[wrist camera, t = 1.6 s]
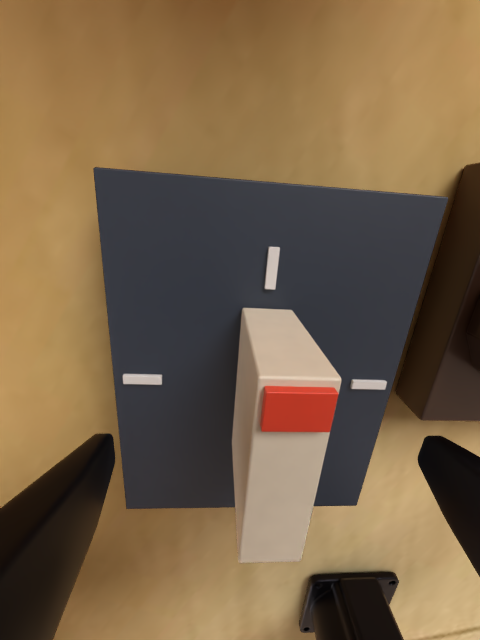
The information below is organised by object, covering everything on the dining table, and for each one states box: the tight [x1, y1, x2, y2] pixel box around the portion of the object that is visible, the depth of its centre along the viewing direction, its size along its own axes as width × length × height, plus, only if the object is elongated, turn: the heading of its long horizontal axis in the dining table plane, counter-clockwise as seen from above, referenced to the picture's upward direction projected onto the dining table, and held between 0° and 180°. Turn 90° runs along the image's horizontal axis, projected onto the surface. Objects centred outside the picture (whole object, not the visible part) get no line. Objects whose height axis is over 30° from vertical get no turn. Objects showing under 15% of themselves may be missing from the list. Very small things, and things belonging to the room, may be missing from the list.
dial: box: [232, 308, 341, 563], centre depth 9 cm, size 6×2×5 cm, turn 176°
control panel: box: [93, 167, 448, 509], centre depth 13 cm, size 14×11×3 cm
